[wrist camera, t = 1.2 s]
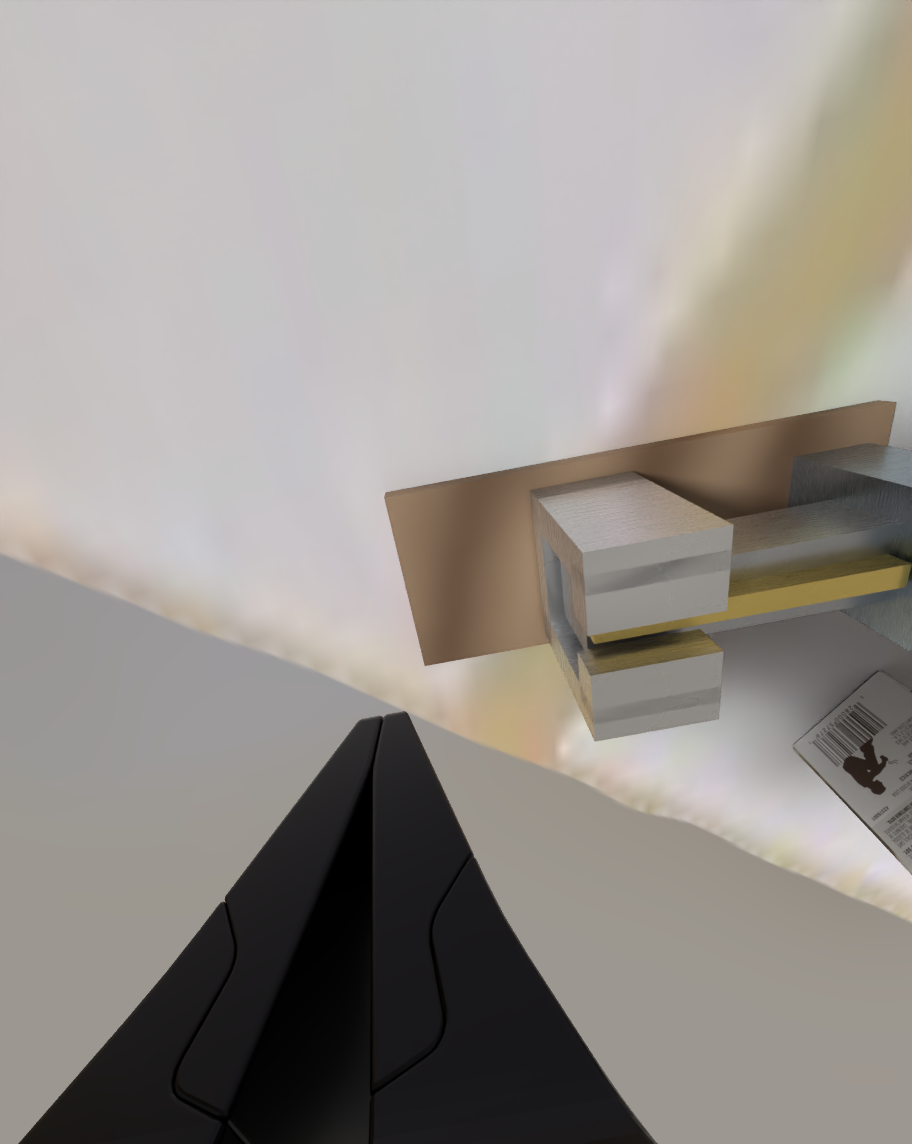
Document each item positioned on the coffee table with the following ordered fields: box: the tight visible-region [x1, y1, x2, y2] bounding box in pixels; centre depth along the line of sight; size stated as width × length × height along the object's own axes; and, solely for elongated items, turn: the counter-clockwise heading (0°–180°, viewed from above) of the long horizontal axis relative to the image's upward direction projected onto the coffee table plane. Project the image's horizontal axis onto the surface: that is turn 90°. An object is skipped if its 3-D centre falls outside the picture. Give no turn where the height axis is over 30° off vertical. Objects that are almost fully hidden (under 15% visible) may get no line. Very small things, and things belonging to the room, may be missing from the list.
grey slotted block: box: [530, 471, 734, 741], centre depth 17 cm, size 4×7×7 cm, turn 10°
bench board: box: [384, 401, 896, 666], centre depth 20 cm, size 20×8×1 cm, turn 100°
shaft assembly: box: [560, 443, 912, 651], centre depth 17 cm, size 13×5×6 cm, turn 100°
